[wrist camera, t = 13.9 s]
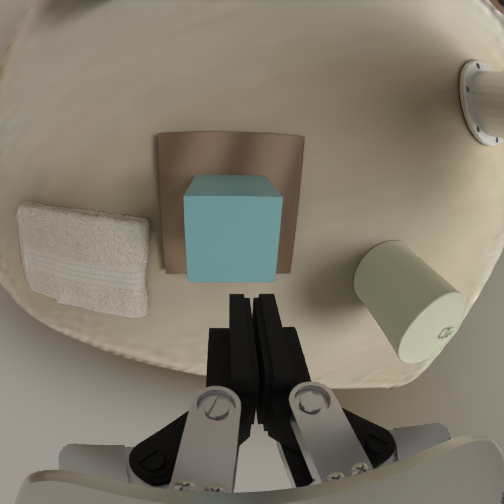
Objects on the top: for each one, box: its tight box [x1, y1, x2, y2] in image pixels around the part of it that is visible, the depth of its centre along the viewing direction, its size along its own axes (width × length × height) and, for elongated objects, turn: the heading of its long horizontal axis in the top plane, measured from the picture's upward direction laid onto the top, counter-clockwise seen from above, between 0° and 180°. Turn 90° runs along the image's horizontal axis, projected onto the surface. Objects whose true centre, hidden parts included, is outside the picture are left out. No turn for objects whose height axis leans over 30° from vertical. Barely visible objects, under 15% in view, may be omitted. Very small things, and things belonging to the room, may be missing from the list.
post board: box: [158, 132, 305, 274], centre depth 22 cm, size 13×14×8 cm
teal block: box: [184, 175, 283, 282], centre depth 21 cm, size 6×6×8 cm
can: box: [354, 241, 466, 364], centre depth 26 cm, size 9×9×12 cm
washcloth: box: [15, 201, 150, 318], centre depth 25 cm, size 12×18×3 cm, turn 78°
